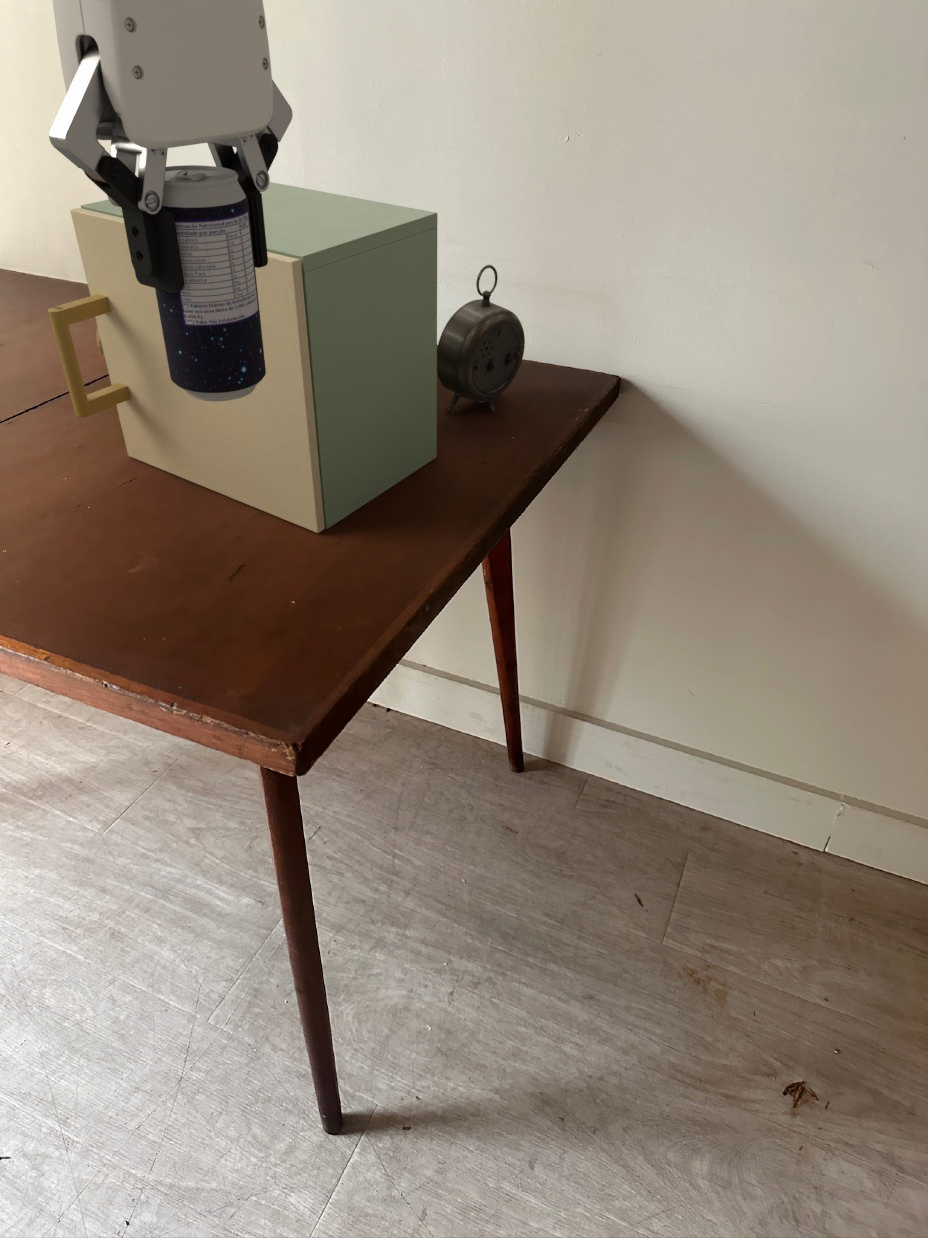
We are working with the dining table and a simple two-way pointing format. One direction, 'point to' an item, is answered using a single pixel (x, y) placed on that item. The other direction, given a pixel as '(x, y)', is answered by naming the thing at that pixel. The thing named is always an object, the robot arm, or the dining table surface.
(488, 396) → the alarm clock
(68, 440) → the dining table surface
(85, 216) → the cupboard door
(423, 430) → the cupboard
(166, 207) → the beverage can
